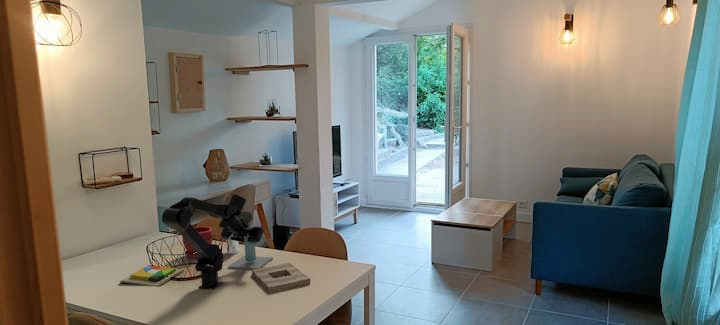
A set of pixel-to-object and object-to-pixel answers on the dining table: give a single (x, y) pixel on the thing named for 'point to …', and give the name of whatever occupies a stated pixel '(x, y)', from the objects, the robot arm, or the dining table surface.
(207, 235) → the plant pot
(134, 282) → the wooden puzzle
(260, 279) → the walnut puzzle board
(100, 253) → the dining table surface
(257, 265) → the slate tile
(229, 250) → the white can
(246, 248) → the pale teal peg
